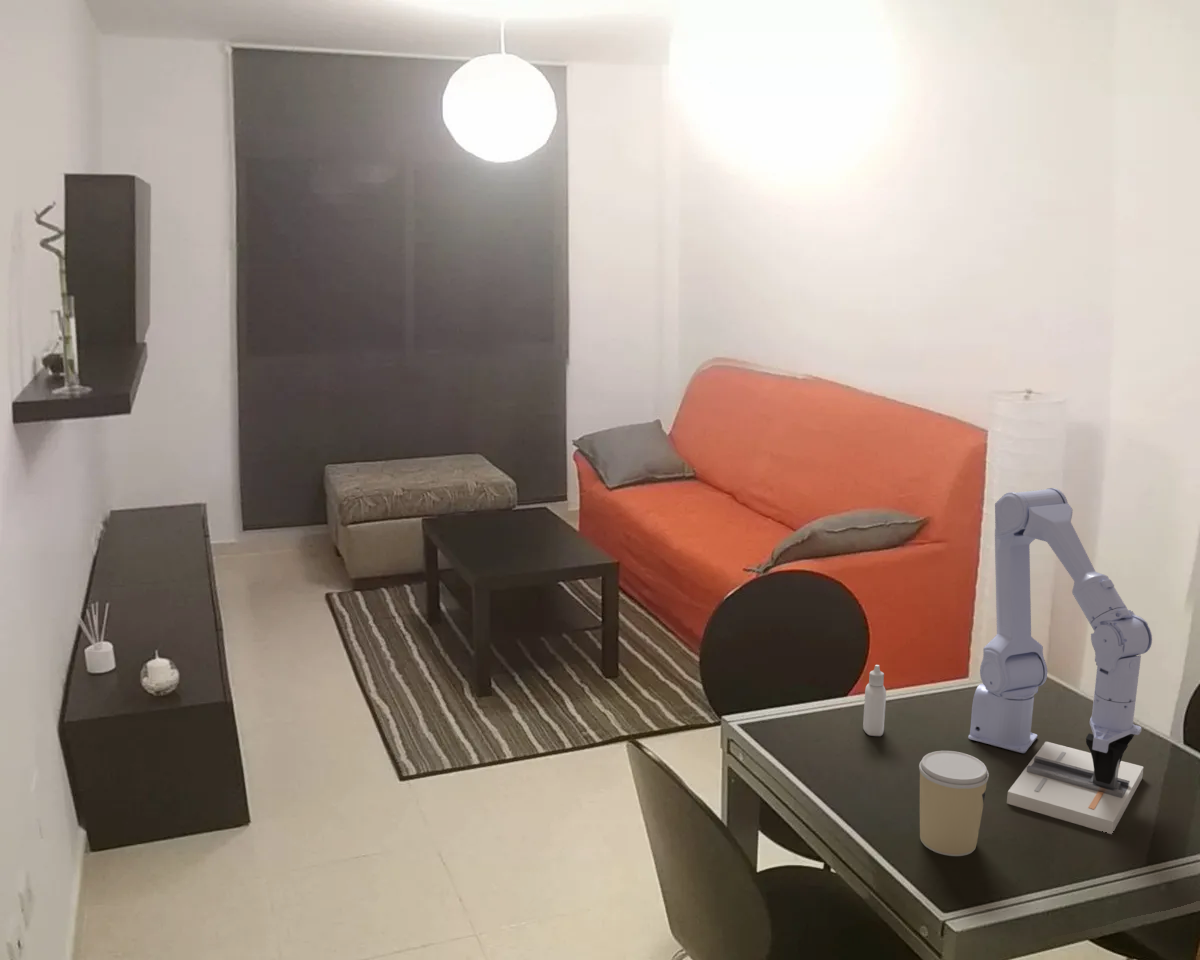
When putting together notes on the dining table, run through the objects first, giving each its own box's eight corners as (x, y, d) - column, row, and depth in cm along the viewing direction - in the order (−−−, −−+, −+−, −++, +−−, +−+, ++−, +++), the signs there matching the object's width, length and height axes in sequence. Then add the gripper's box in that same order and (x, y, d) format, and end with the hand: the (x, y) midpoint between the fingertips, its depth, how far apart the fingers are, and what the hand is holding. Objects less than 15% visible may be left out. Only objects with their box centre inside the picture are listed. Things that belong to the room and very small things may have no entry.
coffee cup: (996, 853, 157) (1003, 775, 155) (937, 864, 155) (943, 784, 152) (957, 820, 166) (963, 745, 164) (901, 829, 164) (906, 754, 161)
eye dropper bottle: (891, 727, 197) (895, 663, 194) (879, 739, 192) (883, 673, 190) (867, 721, 199) (871, 657, 197) (855, 732, 195) (858, 667, 192)
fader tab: (1088, 784, 173) (1092, 750, 171) (1092, 778, 174) (1096, 744, 173) (1116, 792, 170) (1120, 757, 169) (1120, 786, 172) (1124, 751, 171)
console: (1006, 803, 171) (1008, 786, 171) (1044, 752, 188) (1046, 736, 187) (1112, 834, 163) (1114, 816, 162) (1142, 778, 179) (1144, 762, 178)
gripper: (1133, 718, 161) (1123, 804, 164) (1153, 685, 172) (1143, 767, 175) (1081, 706, 165) (1072, 790, 168) (1104, 675, 176) (1095, 754, 180)
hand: (1105, 777), depth 172 cm, fingers closed on fader tab, 2 cm apart
